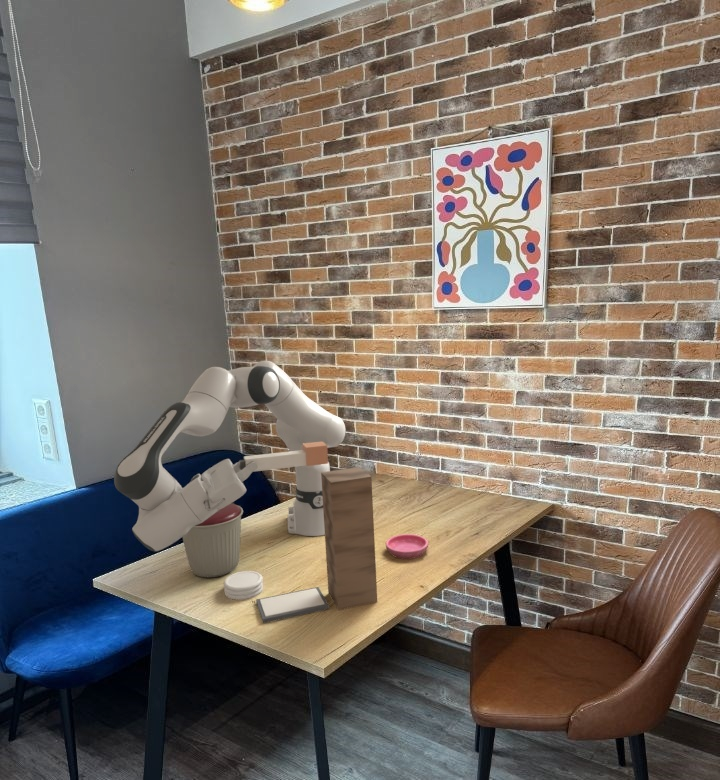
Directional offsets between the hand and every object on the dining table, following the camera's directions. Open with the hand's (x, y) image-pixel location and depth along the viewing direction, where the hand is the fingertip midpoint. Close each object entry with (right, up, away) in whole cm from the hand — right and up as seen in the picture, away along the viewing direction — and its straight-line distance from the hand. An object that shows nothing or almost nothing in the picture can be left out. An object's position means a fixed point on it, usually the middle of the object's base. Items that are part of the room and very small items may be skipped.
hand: (254, 461), depth 136 cm
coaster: (-6, -37, +19) cm, 42 cm away
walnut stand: (+22, -36, +13) cm, 44 cm away
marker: (+6, -1, +2) cm, 7 cm away
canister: (-17, -35, +32) cm, 50 cm away
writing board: (+8, -37, +10) cm, 39 cm away
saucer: (+38, -31, +38) cm, 62 cm away
